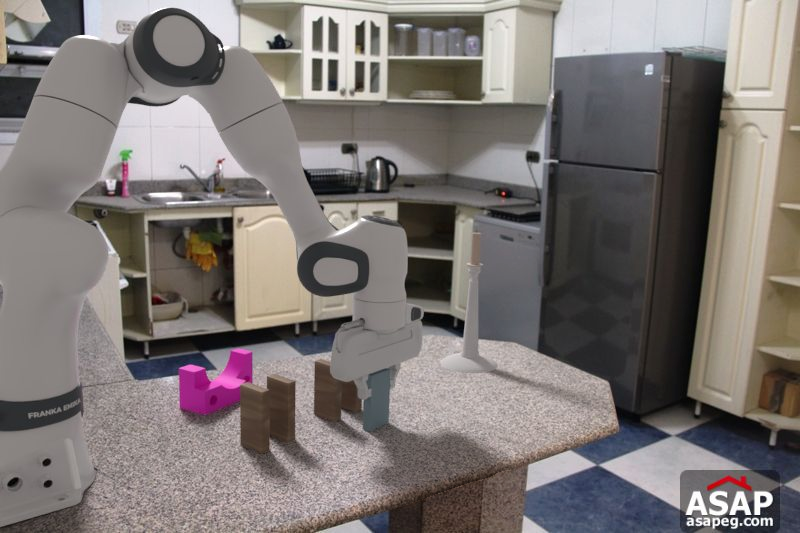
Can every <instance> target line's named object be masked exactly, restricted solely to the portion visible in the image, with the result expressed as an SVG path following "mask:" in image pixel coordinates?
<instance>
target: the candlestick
mask: <svg viewBox="0 0 800 533" xmlns="http://www.w3.org/2000/svg"><path fill="white" fill-rule="evenodd" d="M481 244H482V233H481V232H478V230H476V231H475V232H471V242H470V245H471V246H470V259H469V260H470V261H469V262H467V263H466V265H467V267H468V269H467V271H468V273H469V276H470V278H469V280H468V290H467V299H466V300H467V301H466V311H465V317H464V319H465V320H464V329H463V336H462V337H463V339H462V347H461V352H457V353H452V354H449V355H447V356H445V357H444V358H442V359H441V360H440V362H439V363H440V365H441V366H442V367H443V368H445V369H447V370H449V371H451V372H457V373H462V374H463V373H464V374H484V373H489V372H492V371H495V370H496V369H498V366H499V365H498V364H499V363H497V362H496V360H494V359H493V358H491V357H489V356H487V355H485V354H480V353H479V282H480V281H479V274H480V273H481V272H482V270H481V268H482V267H483V266H484V264H483V263H480V262H481V249H482V248H481V246H482V245H481Z"/></svg>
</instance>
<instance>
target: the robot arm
mask: <svg viewBox="0 0 800 533" xmlns="http://www.w3.org/2000/svg"><path fill="white" fill-rule="evenodd" d="M219 46H220V47H219ZM184 96H188V98H189V97H190V98H192V99H193V100H195V101H197V102H198V104H200V105H201V106H202V107H203V108H204V110H205V111H206V112H207V114H208V115H209V116H210V118H211V121H212V123H213V125H214V127H215V129H216V131H217V133H218V135H219V137H220V139H221V141H222V143H223V145H224V146H225V148H226V149H227V150H228V152H229V153H230V155H231V157H232V158H233V159H234V160H235V162H236V163H237V164H238V165H239V167H240V168H241V169H242V170H243V171H244V172H245V173H246V174H248V175H249V176H251V177H253V178H254V179H255V180H256V181H258V182H259V183H261V184H262V185H263V187H265V188H266V189H267V190H268V191H269V192H270V194H271V195H272V197H273V198H274V200H275V202H276V203H277V205H278V207H279V209H280V211H281V213H282V215H283V217H284V218H285V221H286V222H287V224H288V225H289V229H291V231H292V234H293V236H294V239H295V240H294V241H295V245H296V262H297V263H296V273H297V274H296V275H297V277H298V279H299V282H300V284H301V285H302V286H303V288H305V290H306V291H308V293H311V294H313V295H314V296H318V297H322V298H323V297H324V298H329V297H337V296H338V297H339V296H344V295H350V294H352V320H351V321H348V322H344V323H342V324H341V325H340V328H338V329H337V331H336V332H335V335H334V339H333V343H332V348H331V353H330V354H331V355H330V361H329V362H330V373H331V375H332V376H333V378H335V379H338V380H341V381H344V382H349V381H352V380H354V382H355V384H356V386H357V388H358V398H360V399H362V401H364V400H365V399H368V398H370V397H371V388H369V387H368V386H367V384H366V381H367V380H368V374H371V373H374V372H377V371H379V370H382V369H385V368H388V369H391V371H390V390H391V389H392V390H393V389H395V388H396V379H397V377H398V375H399V372H400V370H401V364H402V363H403V362H404V363H405V362H407V361H408V360H412V359H414V358H417V357H419V355H420V352H421V350H422V347H423V346H422V345H423V328H424V327H423V322H422V321H421V320H423V317H424V314H425V313H424V312H425V310H424V307H423V306H420V305H417V304H412V303H409V302H408V301H407V292H406V288H405V287H406V286H405V282H406V278H407V275H408V265H409V264H408V260H409V259H408V258H409V257H408V254H409V252H408V251H409V250H408V238H407V233H406V231H405V228H403V226H402V224H400V223H398V222H397V221H396V220H393V219H390V218H388V217H387V218H386V217H382V216H377V215H362V216H360V217H359V218H358V219H357V220H355V221H354V222H352V223H350V224H349V225H347V226H345V227H343V228H341V229H339V228H337V227H336V226H335V225H334V224H332V223H331V222H330V221H329V219H328V217H327V216H326V214H325V213H324V211H323V209H322V207H321V205H320V203H319V201H318V200H317V197H316V196H315V194H314V192H313V189H312V188H311V185H310V184H309V181H308V180H307V177H306V174H305V172H304V167H303V162H302V157H301V150H300V145H299V140H298V138H297V137H298V136H297V134H296V129H295V127H294V124H293V122H292V120H291V116H290V115H289V111H288V110H287V108H286V105H285V103H284V102H283V100H282V98H281V95H280V93H279V92H278V90H277V89H276V86H275V85H274V82H273V81H272V80H271V78H270V77H269V76H268V74H267V72H266V71H265V69H264V68H263V67H262V64H260V62H259V61H258V60H257V59H256V57H255V56H254V54H253V53H252V52H251V51H250V50H248V49H247V48H245V47H242V46H238V45H226V46H224V44H223V42H222V40H221V39H220V37H218V36H217V35H216V34H214V33H213V32H212V31H210V30H209V28H208V26H206V24H204V22H202V21H201V20H200V19H199V18H198V17H196V16H195V15H194V14H192V13H191V12H189V11H187V10H184V9H181V8H177V7H163V8H160V9H159V8H158V9H157V10H153V11H152V12H150V13H148V14H146V15H145V16H144V17H142V18H141V19H140V21H139V22H138V23H137V25H136V27H135V28H134V29H132V30H131V32H130V33H129V34H128V36H127V37H126V38H125V39H124V40H123V41H121V42H117V43H116V42H109V41H107V40H105V39H102V38H100V37H97V36H91V35H85V34H83V35H75V36H71V37H68V38H67V39H65V41H63V42H62V44H61V45H60V47H59V48H58V50H57V51H56V53H55V54H54V56H53V58H52V59H51V60H50V61H49V64H48V65H47V67H46V69H45V71H44V72H43V74H42V76H41V79H40V81H39V83H38V85H37V87H36V90H35V92H34V94H33V98H32V100H31V103H30V106H29V108H28V111H27V113H26V115H25V118H24V121H23V123H22V126H21V128H20V130H19V133H18V136H17V138H16V140H15V143H14V145H13V147H12V150H11V151H10V153H9V155H8V157H6V158H7V159H6V160H5V162H4V164H3V165H2V166H1V168H0V285H1V288H2V303H1V305H0V306H1V307H0V528H2V527H5V526H8V525H12V524H16V523H19V522H22V521H26V520H28V519H29V520H30V519H33V518H35V517H39V516H42V515H46V514H50V513H53V512H56V511H60V510H63V509H66V508H71V507H74V506H76V505H78V504H80V503H81V502H82V499H83V495H84V493H85V491H86V490H88V488H89V487H90V486H91V485H92V483H94V481H95V479H96V474H97V472H96V470H95V467H94V465H93V463H92V460H91V456H90V452H89V450H88V446H87V441H86V437H85V432H84V425H83V416H84V411H85V410H84V408H85V407H84V406H85V405H84V392H83V383H82V381H81V380H80V379H79V376H80V375H79V356H78V354H79V352H78V348H79V347H78V335H79V333H78V332H79V325H80V318H81V315H82V311H83V306H84V304H85V302H86V299H87V296H88V294H89V293H90V291H91V290H92V289H93V288H94V287H96V285H98V283H100V281H101V280H102V278H103V277H104V275H105V273H106V271H107V268H108V263H109V247H108V244H107V242H106V241H107V240H106V239H105V237H104V235H103V234H102V233H101V232H100V230H99V229H98V228H97V227H96V226H94V225H93V224H91V223H89V222H87V221H85V220H83V219H81V218H79V217H77V216H75V215H73V214H71V213H68V211H69V210H70V209H71V207H72V205H73V204H74V203H75V202H76V201H77V200H78V199H79V198H80V197H81V195H82V194H84V193H85V192H87V191H88V190H91V189H92V188H93V187H94V186H95V185H96V184H97V182H98V181H99V180H100V178H101V176H102V174H103V169H104V167H105V164H106V161H107V159H108V155H109V153H110V150H111V147H112V145H113V142H114V139H115V136H116V133H117V132H118V131H117V130H118V128H119V125H120V123H121V122H120V121H121V119H122V115H123V113H124V111H125V109H126V106H127V104H132V105H134V104H135V105H142V106H146V107H155V108H156V107H165V106H169V105H171V104H174V103H175V102H177V101H178V100H179V99H180V98H182V97H184ZM73 206H74V205H73Z"/></svg>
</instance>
